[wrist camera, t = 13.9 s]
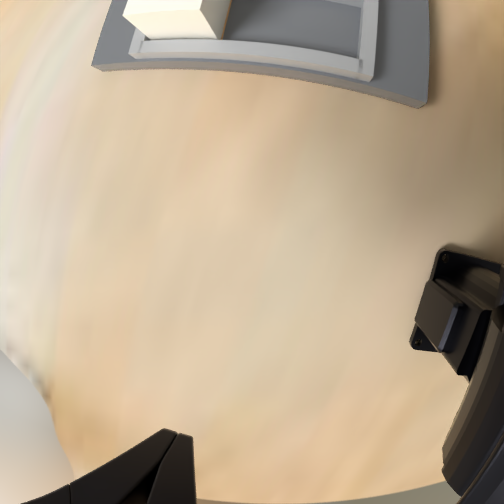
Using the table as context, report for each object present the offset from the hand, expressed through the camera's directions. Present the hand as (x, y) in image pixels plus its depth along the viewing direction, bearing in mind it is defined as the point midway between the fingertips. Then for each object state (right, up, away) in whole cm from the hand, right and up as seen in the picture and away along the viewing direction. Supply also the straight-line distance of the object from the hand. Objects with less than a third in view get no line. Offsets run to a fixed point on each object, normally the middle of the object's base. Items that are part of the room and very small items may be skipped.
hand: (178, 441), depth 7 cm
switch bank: (+3, +23, +7) cm, 24 cm away
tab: (-1, +18, +7) cm, 20 cm away
